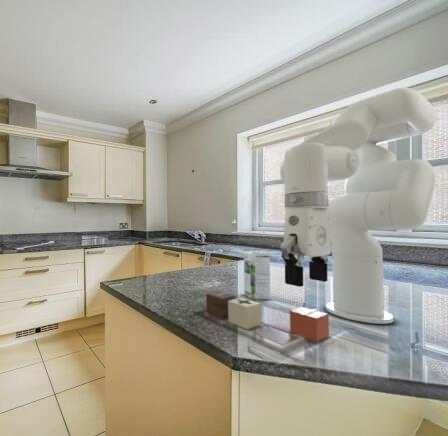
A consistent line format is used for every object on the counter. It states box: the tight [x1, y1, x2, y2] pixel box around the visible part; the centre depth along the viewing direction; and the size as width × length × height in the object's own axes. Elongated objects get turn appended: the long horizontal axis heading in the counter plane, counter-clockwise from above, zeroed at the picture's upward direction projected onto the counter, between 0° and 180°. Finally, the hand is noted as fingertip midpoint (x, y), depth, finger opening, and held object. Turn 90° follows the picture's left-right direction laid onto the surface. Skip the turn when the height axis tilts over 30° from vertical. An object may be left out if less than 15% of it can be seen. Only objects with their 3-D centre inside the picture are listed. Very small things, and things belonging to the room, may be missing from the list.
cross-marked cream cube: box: [227, 297, 262, 330], centre depth 58 cm, size 5×5×5 cm
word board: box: [203, 310, 300, 346], centre depth 58 cm, size 9×22×1 cm, turn 28°
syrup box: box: [243, 250, 271, 300], centre depth 80 cm, size 6×6×14 cm
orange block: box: [289, 306, 330, 342], centre depth 53 cm, size 6×5×5 cm
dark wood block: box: [205, 290, 236, 319], centre depth 64 cm, size 5×5×5 cm
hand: (306, 282), depth 53 cm, fingers open, 9 cm apart
